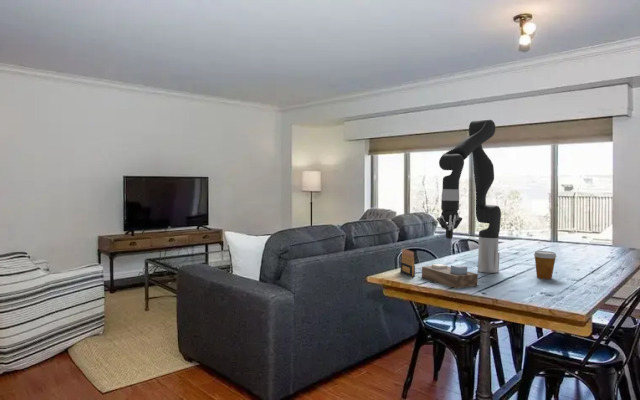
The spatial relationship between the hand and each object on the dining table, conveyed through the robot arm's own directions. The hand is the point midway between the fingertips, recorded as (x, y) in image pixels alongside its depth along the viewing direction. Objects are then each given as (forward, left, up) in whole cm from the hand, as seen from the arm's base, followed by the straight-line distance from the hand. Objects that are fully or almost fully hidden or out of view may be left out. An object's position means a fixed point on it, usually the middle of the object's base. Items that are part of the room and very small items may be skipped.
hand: (449, 238), depth 194 cm
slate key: (0, +6, -15) cm, 16 cm away
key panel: (0, 0, -19) cm, 19 cm away
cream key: (0, -6, -17) cm, 18 cm away
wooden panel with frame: (+8, -19, -20) cm, 28 cm away
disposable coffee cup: (-48, +12, -20) cm, 54 cm away
